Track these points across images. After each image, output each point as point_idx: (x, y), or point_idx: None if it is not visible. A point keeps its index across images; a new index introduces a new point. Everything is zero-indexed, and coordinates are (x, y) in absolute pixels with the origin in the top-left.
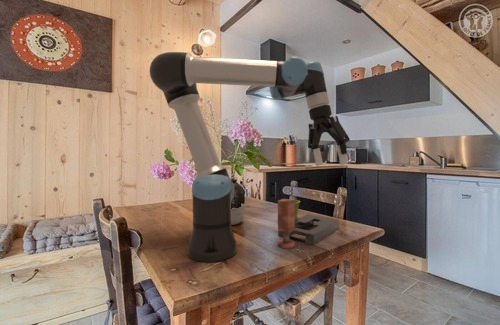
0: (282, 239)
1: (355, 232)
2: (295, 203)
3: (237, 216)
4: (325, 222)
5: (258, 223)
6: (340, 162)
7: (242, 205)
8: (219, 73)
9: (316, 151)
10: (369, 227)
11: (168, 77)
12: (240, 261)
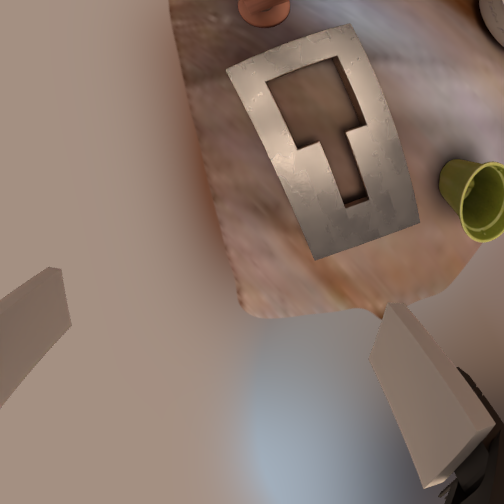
0: (285, 4)
1: (259, 252)
2: (461, 196)
3: (487, 5)
4: (314, 196)
5: (472, 71)
6: (46, 275)
7: None
8: None
9: (443, 429)
10: (272, 312)
11: None
12: None
